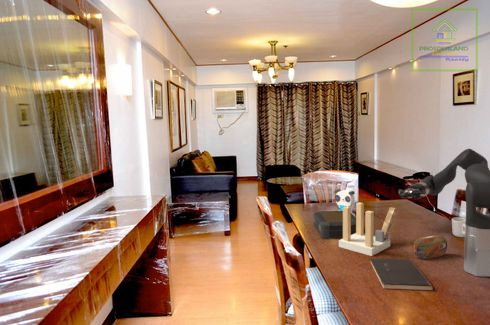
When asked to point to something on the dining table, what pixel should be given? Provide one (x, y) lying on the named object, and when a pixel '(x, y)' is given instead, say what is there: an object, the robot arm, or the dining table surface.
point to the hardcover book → (400, 274)
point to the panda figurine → (344, 199)
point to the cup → (458, 226)
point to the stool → (362, 233)
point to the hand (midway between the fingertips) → (402, 196)
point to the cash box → (331, 224)
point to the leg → (388, 221)
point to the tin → (430, 247)
